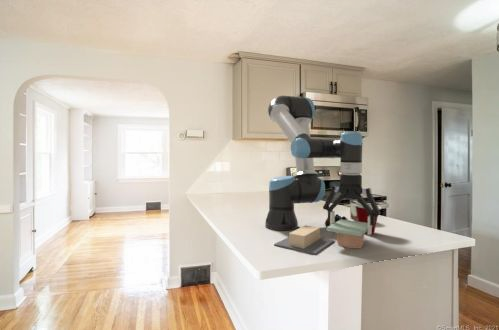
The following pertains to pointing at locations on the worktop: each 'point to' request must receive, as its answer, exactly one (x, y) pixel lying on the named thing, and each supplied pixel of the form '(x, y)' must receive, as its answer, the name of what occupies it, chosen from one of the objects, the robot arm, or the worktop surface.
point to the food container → (353, 209)
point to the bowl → (350, 240)
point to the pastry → (337, 218)
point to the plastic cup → (364, 215)
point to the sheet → (349, 227)
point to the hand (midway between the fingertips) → (350, 231)
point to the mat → (308, 249)
